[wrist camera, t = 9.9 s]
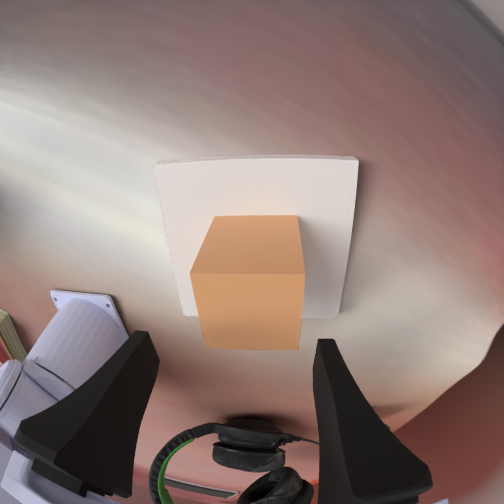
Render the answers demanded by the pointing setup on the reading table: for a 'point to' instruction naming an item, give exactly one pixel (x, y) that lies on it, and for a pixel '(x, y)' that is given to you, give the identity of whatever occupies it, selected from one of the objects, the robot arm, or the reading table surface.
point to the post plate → (263, 213)
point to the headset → (242, 461)
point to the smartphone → (199, 488)
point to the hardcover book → (10, 340)
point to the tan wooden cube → (250, 283)
